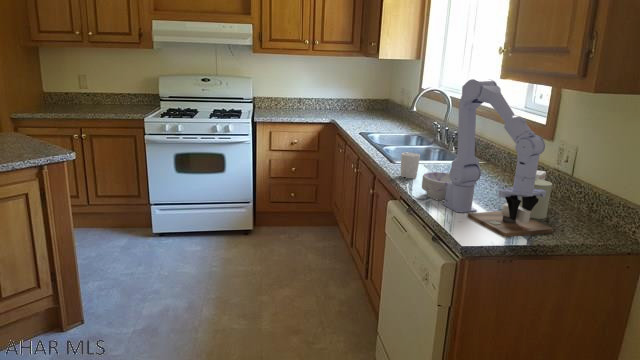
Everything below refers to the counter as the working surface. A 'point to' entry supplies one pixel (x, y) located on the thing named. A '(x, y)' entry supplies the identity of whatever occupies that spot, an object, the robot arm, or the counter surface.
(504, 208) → the white block
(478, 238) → the counter surface
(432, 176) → the paper bowls
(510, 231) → the post board
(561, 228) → the counter surface
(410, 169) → the white cup
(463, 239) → the counter surface
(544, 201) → the can
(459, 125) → the robot arm
